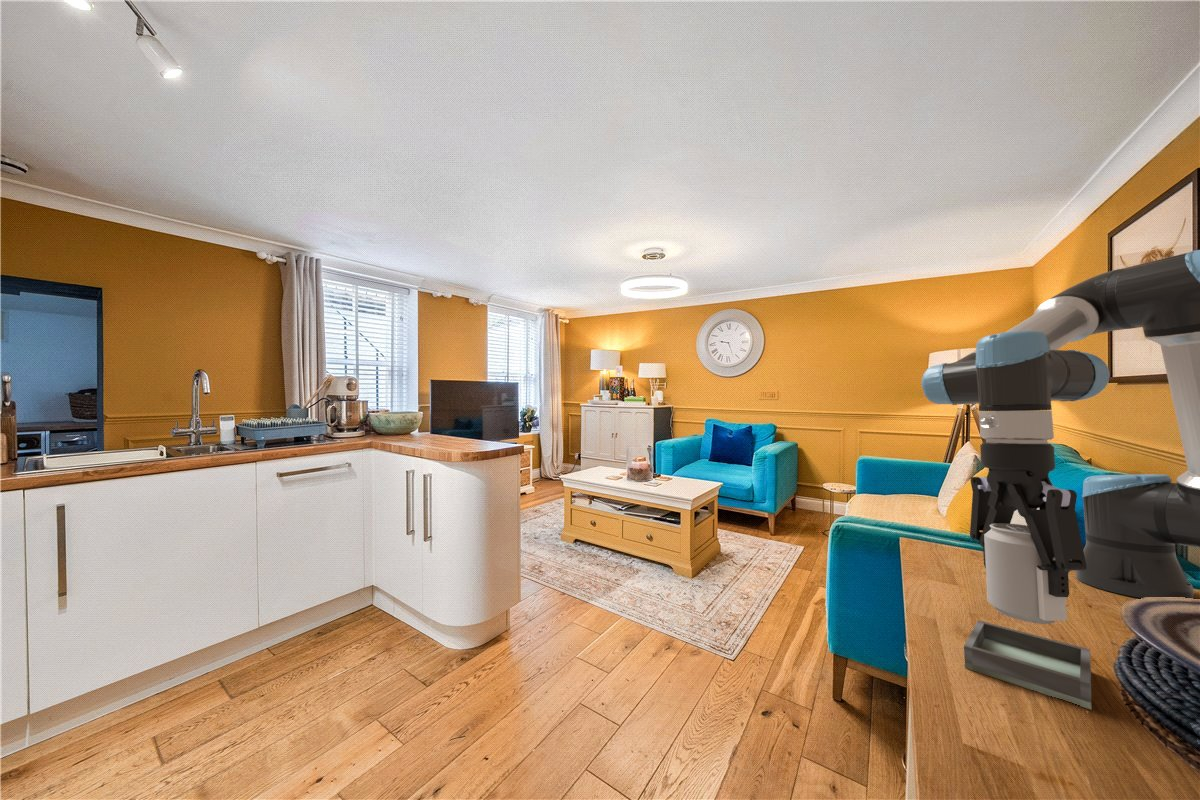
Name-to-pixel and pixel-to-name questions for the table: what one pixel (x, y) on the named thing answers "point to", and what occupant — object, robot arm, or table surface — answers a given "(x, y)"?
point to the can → (1012, 572)
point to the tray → (1030, 662)
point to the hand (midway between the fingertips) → (1024, 605)
